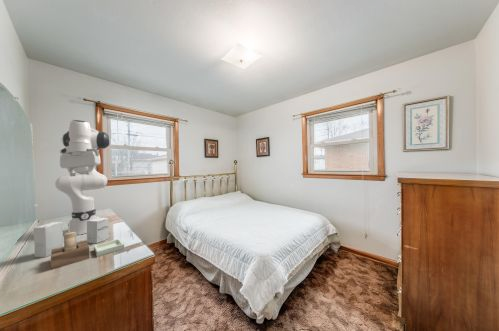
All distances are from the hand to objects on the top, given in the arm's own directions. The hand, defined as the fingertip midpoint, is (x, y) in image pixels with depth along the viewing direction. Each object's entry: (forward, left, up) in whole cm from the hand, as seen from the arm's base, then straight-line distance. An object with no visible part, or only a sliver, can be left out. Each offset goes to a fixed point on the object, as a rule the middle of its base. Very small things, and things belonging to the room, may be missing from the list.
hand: (80, 175), depth 93 cm
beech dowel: (+10, -5, -39) cm, 41 cm away
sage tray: (+12, +9, -39) cm, 42 cm away
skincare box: (-7, -12, -39) cm, 41 cm away
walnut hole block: (+10, -5, -39) cm, 40 cm away
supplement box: (-8, +7, -39) cm, 40 cm away
